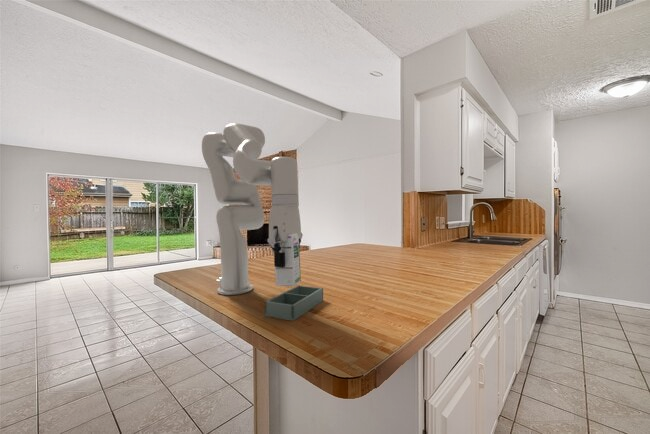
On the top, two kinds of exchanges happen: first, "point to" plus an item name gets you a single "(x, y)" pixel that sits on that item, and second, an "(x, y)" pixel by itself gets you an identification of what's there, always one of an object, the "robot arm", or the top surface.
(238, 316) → the top surface
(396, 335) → the top surface
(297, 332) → the top surface
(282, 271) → the syrup box
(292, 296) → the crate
